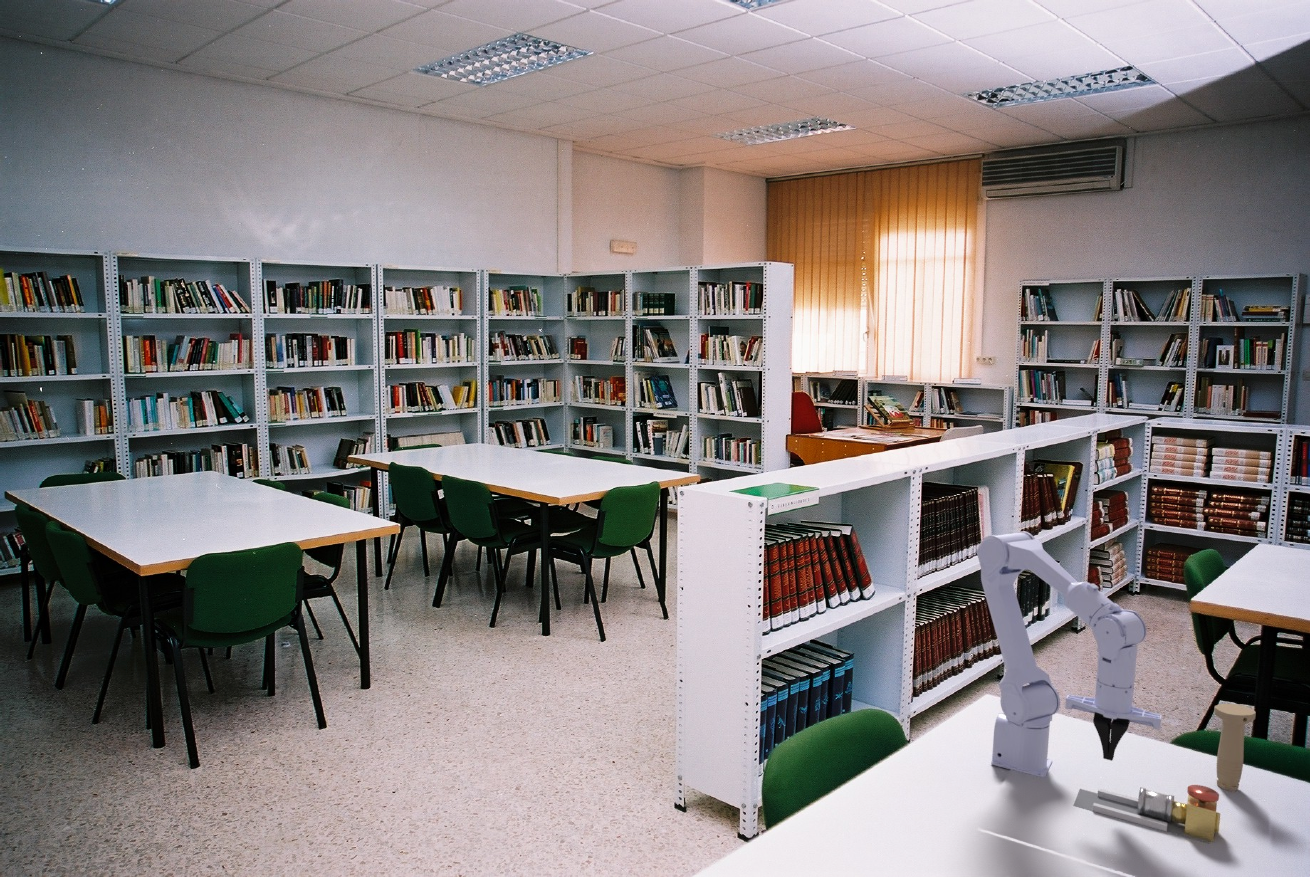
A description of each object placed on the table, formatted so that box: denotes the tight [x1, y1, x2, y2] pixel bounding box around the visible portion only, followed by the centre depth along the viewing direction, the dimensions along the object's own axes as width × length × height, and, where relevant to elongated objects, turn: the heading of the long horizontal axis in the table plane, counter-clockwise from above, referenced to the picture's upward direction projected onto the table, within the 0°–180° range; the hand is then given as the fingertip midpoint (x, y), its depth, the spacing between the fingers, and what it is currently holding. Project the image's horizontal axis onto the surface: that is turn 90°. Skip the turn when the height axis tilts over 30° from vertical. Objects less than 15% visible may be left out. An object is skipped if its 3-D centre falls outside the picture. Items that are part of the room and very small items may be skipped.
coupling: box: [1137, 787, 1175, 823], centre depth 150 cm, size 5×4×4 cm
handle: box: [1213, 703, 1256, 792], centre depth 160 cm, size 5×6×15 cm
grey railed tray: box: [1073, 788, 1211, 845], centre depth 151 cm, size 20×7×1 cm, turn 56°
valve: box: [1172, 784, 1221, 843], centre depth 146 cm, size 7×5×7 cm
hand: (1108, 757), depth 153 cm, fingers closed
